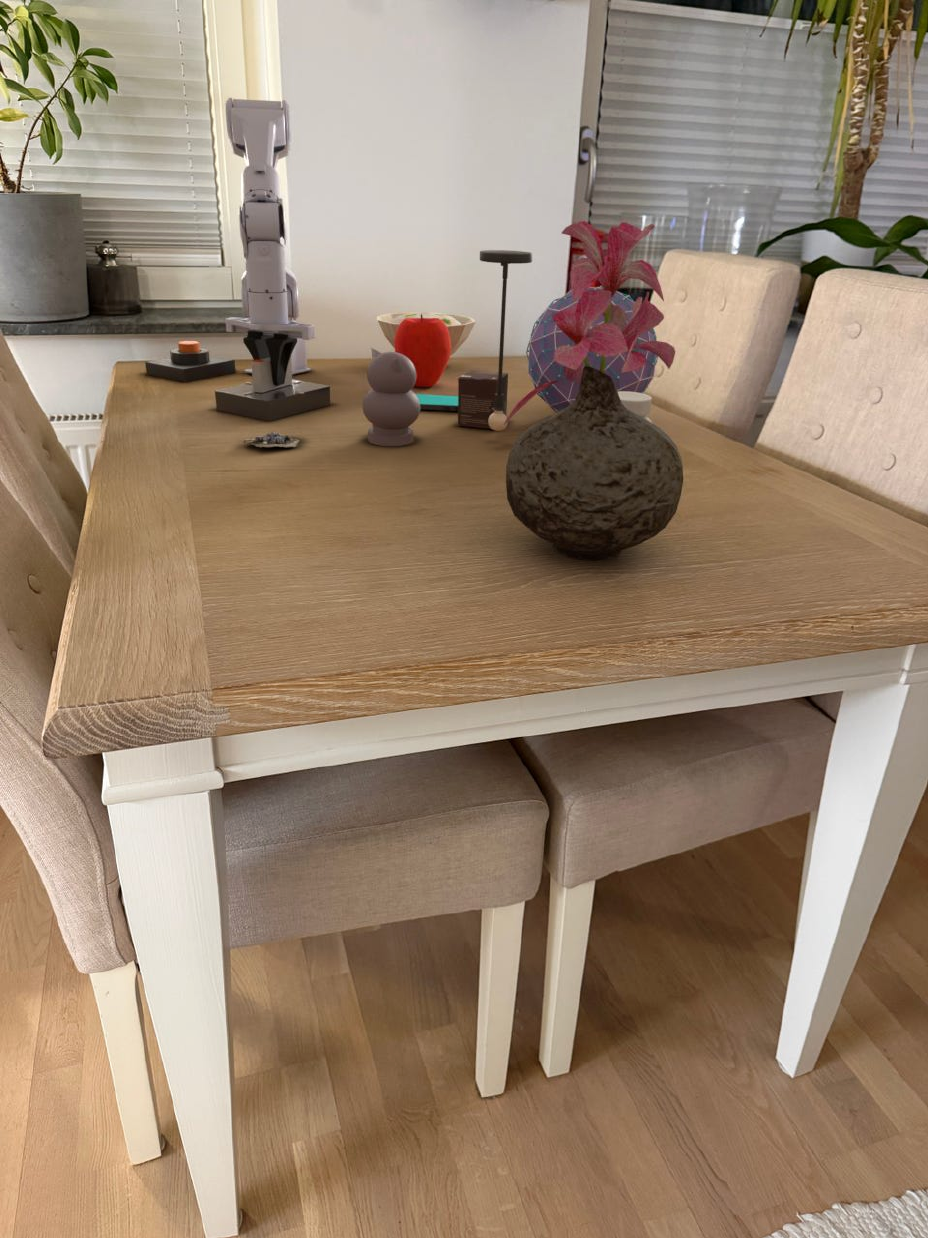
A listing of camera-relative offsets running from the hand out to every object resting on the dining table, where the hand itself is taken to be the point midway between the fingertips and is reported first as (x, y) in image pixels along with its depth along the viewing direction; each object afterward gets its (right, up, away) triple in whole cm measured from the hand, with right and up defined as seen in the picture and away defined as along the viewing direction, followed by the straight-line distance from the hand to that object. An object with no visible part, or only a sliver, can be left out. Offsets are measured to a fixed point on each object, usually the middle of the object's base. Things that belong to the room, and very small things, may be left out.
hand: (273, 383), depth 138 cm
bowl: (+22, +13, +36) cm, 44 cm away
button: (-20, +11, +22) cm, 32 cm away
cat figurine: (+20, -12, -14) cm, 27 cm away
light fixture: (+34, -13, -15) cm, 39 cm away
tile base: (0, -3, +2) cm, 4 cm away
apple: (+22, +5, +20) cm, 30 cm away
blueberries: (+4, -13, -18) cm, 22 cm away
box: (+32, -7, -4) cm, 34 cm away
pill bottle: (+48, -21, -31) cm, 61 cm away
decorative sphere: (+49, -6, +1) cm, 49 cm away
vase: (+42, -30, -49) cm, 71 cm away
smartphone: (+26, -2, +6) cm, 27 cm away
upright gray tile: (0, -1, 0) cm, 1 cm away
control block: (-20, +8, +23) cm, 32 cm away
